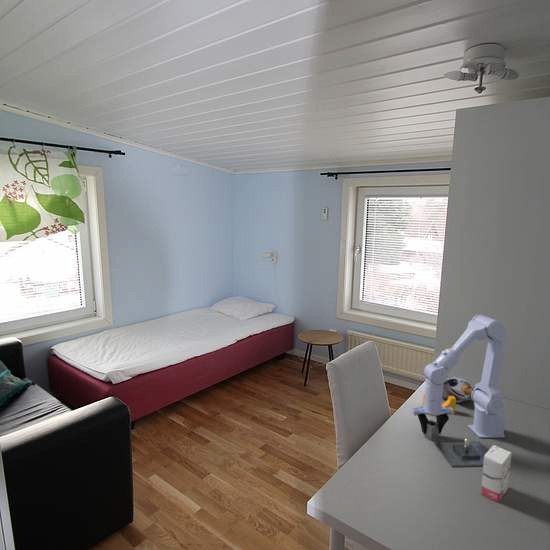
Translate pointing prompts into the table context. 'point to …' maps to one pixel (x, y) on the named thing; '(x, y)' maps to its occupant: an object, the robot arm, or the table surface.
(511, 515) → the table surface
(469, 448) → the grey square base plate
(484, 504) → the table surface
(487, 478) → the ink box
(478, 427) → the robot arm
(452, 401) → the yellow curved piece
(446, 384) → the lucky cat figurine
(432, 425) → the tube
